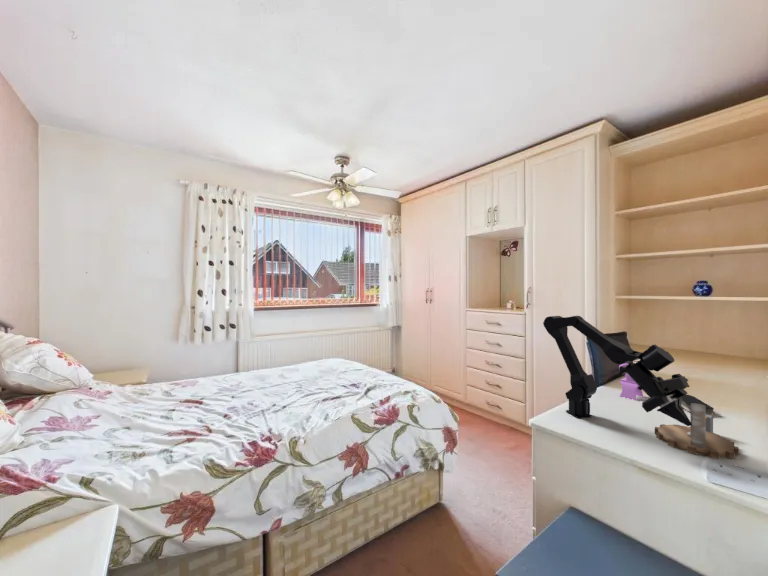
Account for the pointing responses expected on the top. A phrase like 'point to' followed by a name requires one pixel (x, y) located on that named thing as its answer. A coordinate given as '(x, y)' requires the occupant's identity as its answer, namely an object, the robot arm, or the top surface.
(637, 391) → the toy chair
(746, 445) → the top surface
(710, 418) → the grey toy mallet
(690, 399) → the black sponge
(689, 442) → the sprocket
